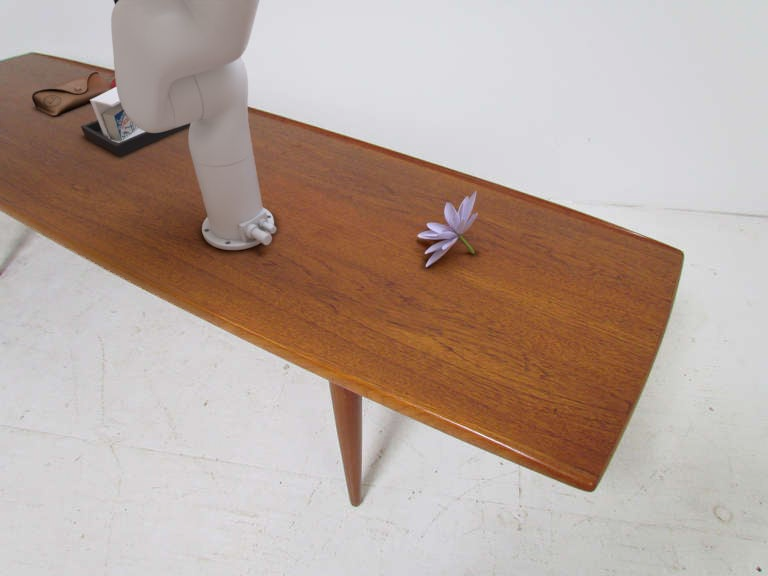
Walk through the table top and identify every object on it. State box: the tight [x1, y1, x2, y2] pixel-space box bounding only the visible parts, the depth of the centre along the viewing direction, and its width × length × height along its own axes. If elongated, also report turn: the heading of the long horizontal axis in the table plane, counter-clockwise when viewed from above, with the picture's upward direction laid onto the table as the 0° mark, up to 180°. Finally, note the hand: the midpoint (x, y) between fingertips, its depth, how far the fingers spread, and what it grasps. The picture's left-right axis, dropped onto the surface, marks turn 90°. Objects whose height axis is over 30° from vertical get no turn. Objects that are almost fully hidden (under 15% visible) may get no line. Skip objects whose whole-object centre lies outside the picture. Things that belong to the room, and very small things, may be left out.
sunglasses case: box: [31, 71, 111, 117], centre depth 124 cm, size 18×7×7 cm
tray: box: [80, 119, 191, 158], centre depth 115 cm, size 14×24×3 cm, turn 143°
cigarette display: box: [90, 87, 146, 143], centre depth 112 cm, size 20×6×9 cm, turn 157°
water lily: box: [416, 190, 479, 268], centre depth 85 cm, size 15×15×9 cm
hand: (109, 3), depth 84 cm, fingers open, 9 cm apart
